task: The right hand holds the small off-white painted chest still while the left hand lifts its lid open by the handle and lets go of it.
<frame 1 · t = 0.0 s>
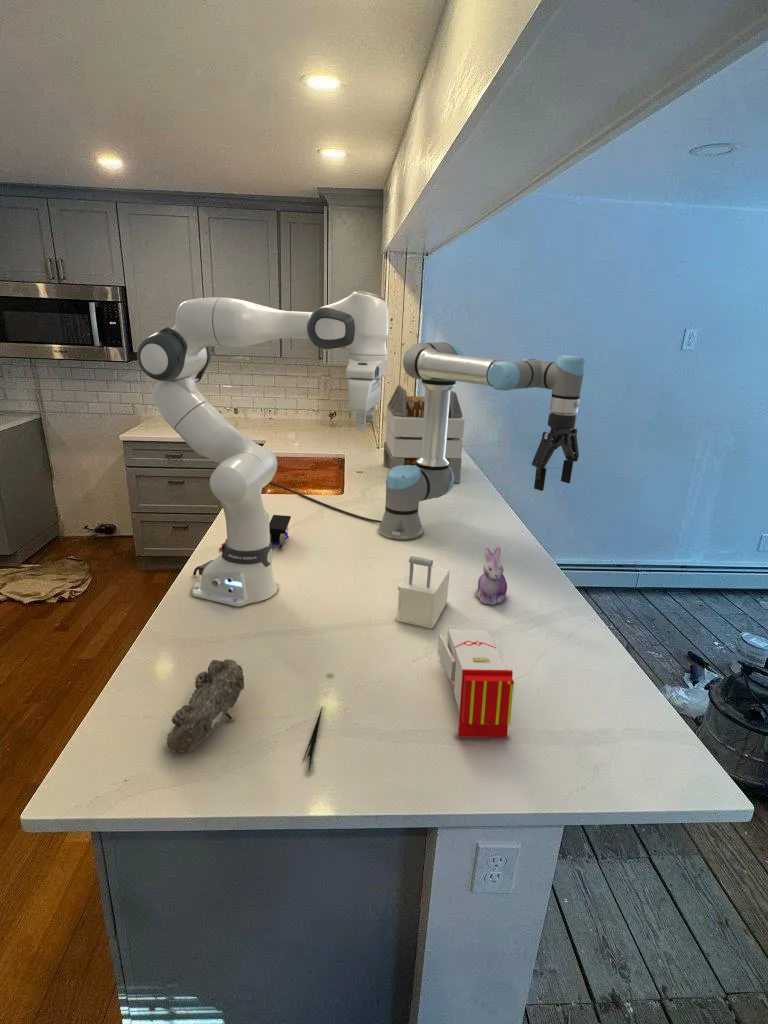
left hand: (365, 426, 135), 48 cm above the counter, tool pointing down, fingers open, 8 cm apart
right hand: (552, 485, 166), 28 cm above the counter, tool pointing down, fingers open, 13 cm apart
lid: (425, 566, 144), point 13 cm above the counter, hinge at 0.0°
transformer: (419, 473, 275), on the counter
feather: (319, 719, 109), on the counter
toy: (469, 691, 119), on the counter
figurine character: (278, 543, 188), on the counter
figurine: (491, 598, 158), on the counter
fossil: (212, 717, 108), on the counter
chest: (422, 611, 149), on the counter
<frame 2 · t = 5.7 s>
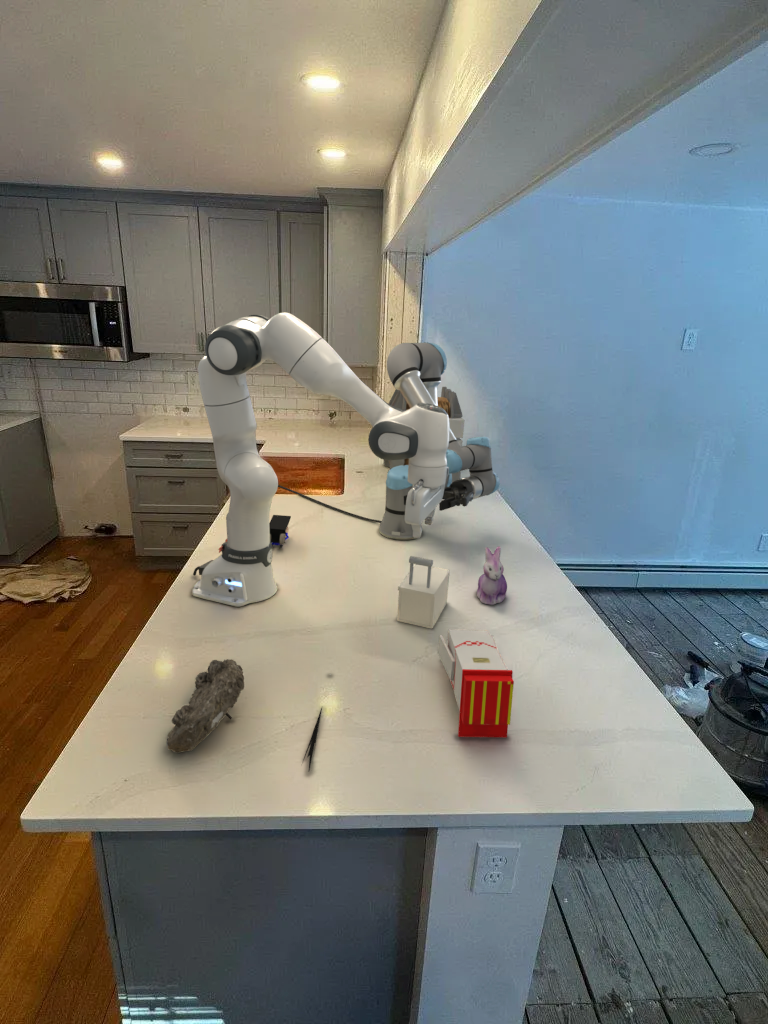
left hand: (422, 530, 136), 25 cm above the counter, tool pointing down, fingers open, 8 cm apart
right hand: (421, 503, 166), 21 cm above the counter, tool horizontal, fingers open, 13 cm apart
nothing on the counter moved.
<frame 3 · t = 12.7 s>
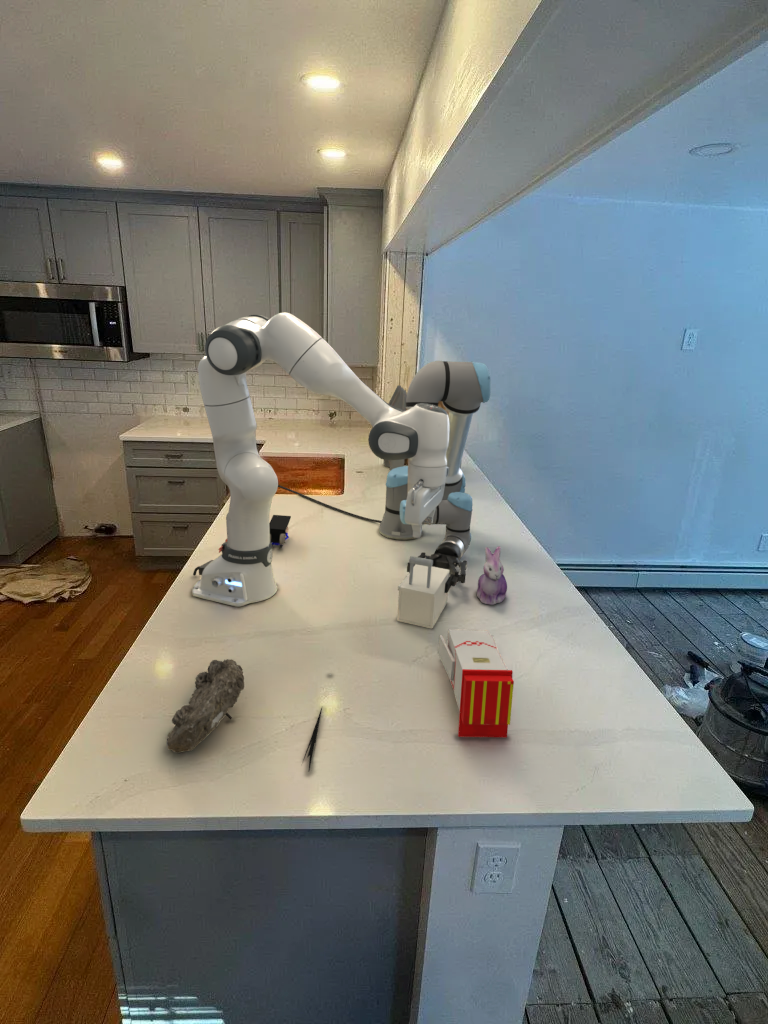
left hand: (422, 530, 136), 25 cm above the counter, tool pointing down, fingers open, 8 cm apart
right hand: (427, 584, 150), 7 cm above the counter, tool horizontal, fingers closed on chest, 9 cm apart
chest: (422, 611, 149), on the counter, touching right hand
everything else where it was.
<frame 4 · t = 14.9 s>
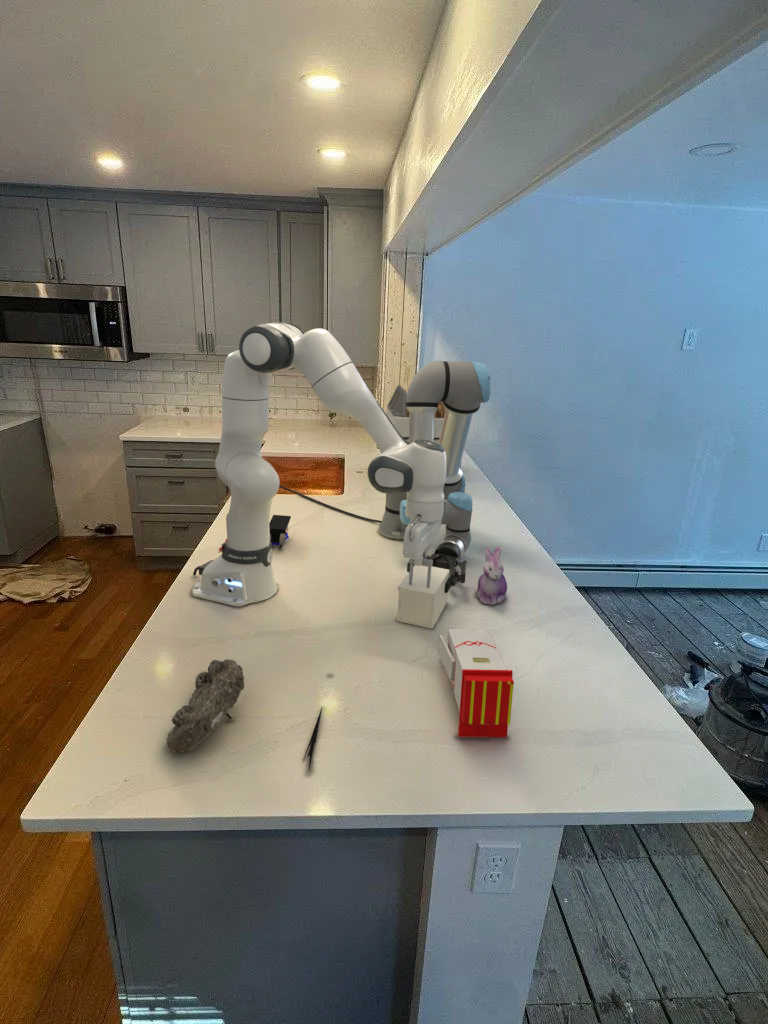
left hand: (420, 562, 139), 17 cm above the counter, tool pointing down, fingers closed on lid, 2 cm apart
right hand: (427, 584, 150), 7 cm above the counter, tool horizontal, fingers closed on chest, 9 cm apart
lid: (425, 566, 144), point 13 cm above the counter, hinge at -0.1°, touching left hand
chest: (422, 611, 149), on the counter, touching right hand
everything else where it was.
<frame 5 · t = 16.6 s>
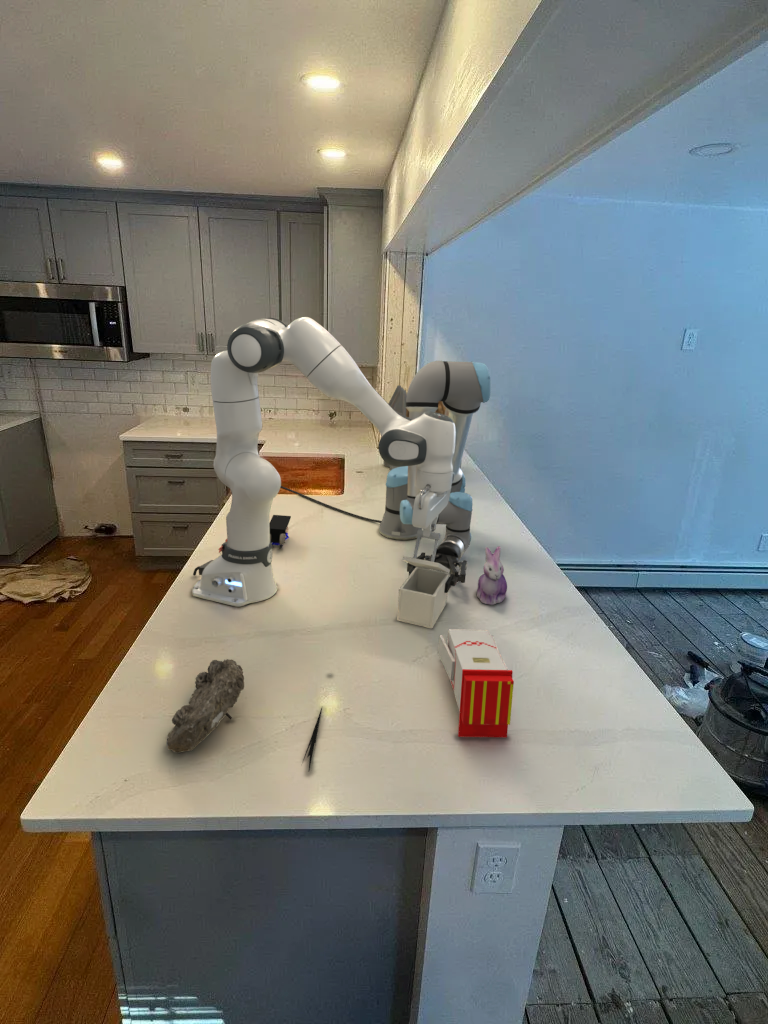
left hand: (429, 533, 142), 22 cm above the counter, tool pointing down, fingers closed
right hand: (427, 584, 150), 7 cm above the counter, tool horizontal, fingers closed on chest, 9 cm apart
lid: (429, 550, 146), point 17 cm above the counter, hinge at 29.6°, touching left hand
chest: (422, 611, 149), on the counter, touching right hand
everything else where it was.
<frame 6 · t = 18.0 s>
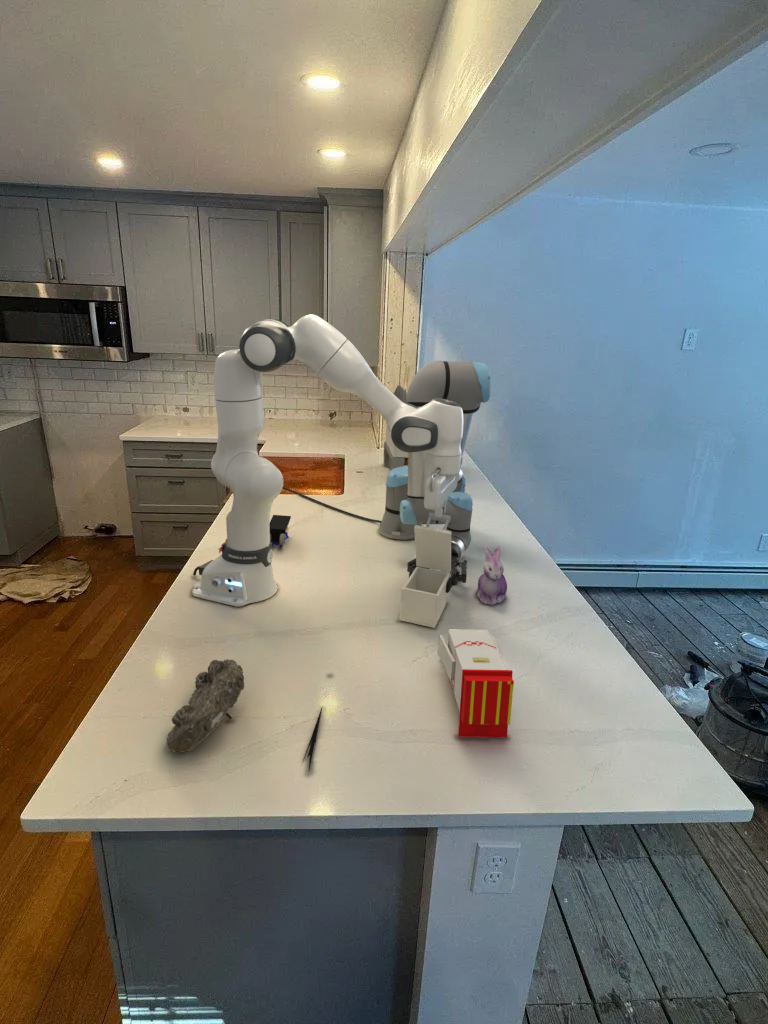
left hand: (439, 514, 148), 24 cm above the counter, tool pointing down, fingers closed, pressing on lid
right hand: (428, 584, 150), 7 cm above the counter, tool horizontal, fingers closed on chest, 9 cm apart
lid: (436, 538, 150), point 18 cm above the counter, hinge at 63.5°, touching left hand
chest: (423, 611, 149), on the counter, touching right hand
everything else where it was.
when the right hand's fingers open (7 cm above the counter, at t = 22.6 s): chest stays where it is, on the counter.
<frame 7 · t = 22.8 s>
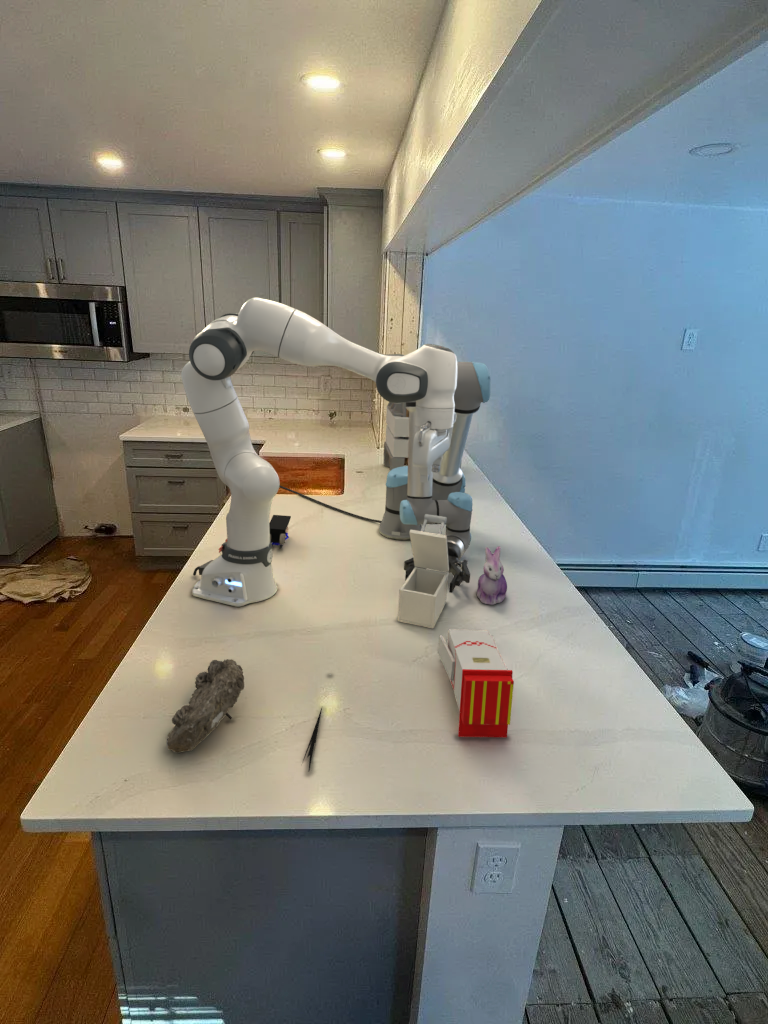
left hand: (430, 476, 134), 38 cm above the counter, tool pointing down, fingers open, 8 cm apart
right hand: (428, 583, 150), 7 cm above the counter, tool horizontal, fingers open, 11 cm apart
lid: (433, 540, 149), point 18 cm above the counter, hinge at 58.6°
chest: (422, 611, 149), on the counter
everything else where it was.
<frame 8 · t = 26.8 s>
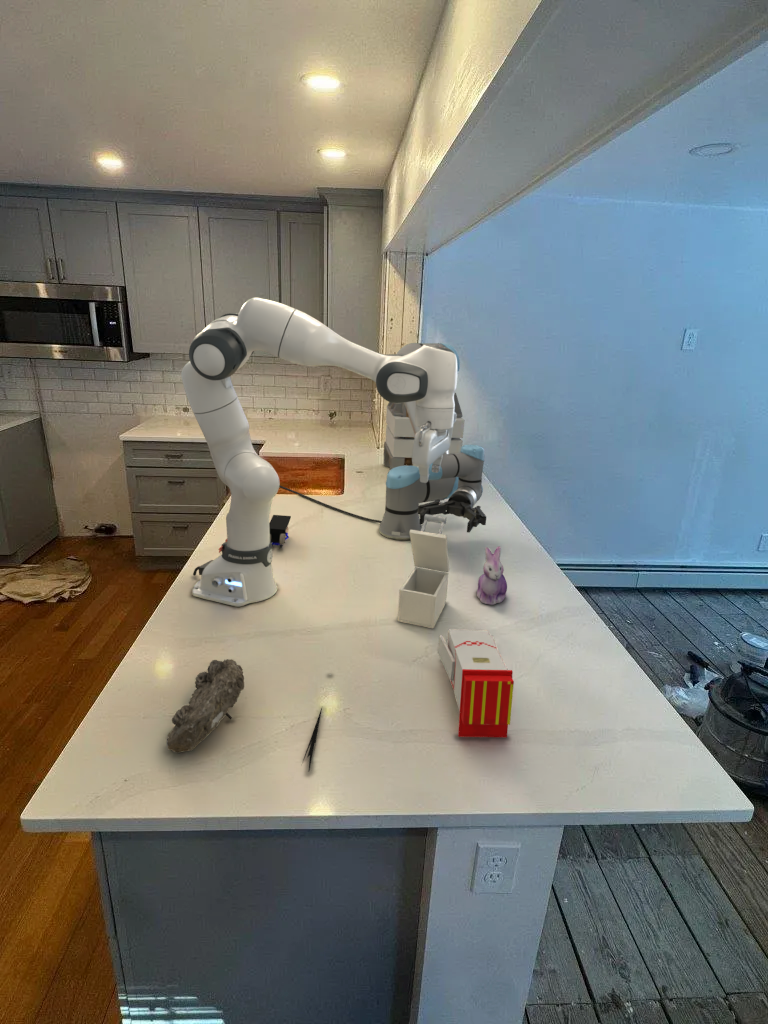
left hand: (430, 476, 134), 38 cm above the counter, tool pointing down, fingers open, 8 cm apart
right hand: (444, 523, 157), 19 cm above the counter, tool horizontal, fingers open, 13 cm apart
nothing on the counter moved.
at the end: lid at +59° (first picture: +0°); the left hand is holding nothing; the right hand is holding nothing; chest tilted 0°; chest never tilted more than 2° during the clip; chest moved 0.0 cm from its start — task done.
